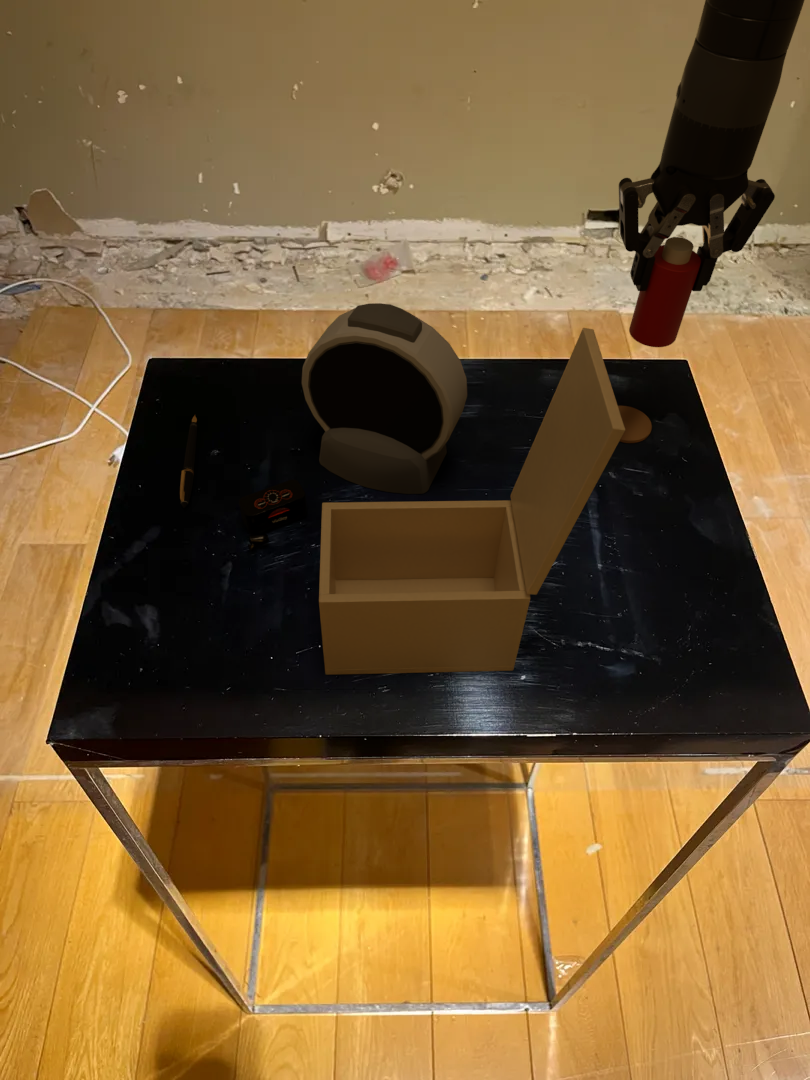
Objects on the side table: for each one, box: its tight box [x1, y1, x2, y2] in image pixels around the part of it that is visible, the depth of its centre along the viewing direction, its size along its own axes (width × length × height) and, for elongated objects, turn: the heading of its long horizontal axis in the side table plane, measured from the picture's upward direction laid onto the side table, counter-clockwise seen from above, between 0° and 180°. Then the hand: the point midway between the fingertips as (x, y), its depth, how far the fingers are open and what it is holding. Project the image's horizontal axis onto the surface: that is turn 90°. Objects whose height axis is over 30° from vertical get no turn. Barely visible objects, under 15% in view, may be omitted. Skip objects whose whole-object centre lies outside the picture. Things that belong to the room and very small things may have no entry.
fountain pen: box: [179, 414, 198, 509], centre depth 88 cm, size 14×1×2 cm, turn 5°
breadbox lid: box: [509, 327, 625, 596], centre depth 61 cm, size 18×11×1 cm
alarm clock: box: [301, 302, 468, 495], centre depth 83 cm, size 16×10×18 cm, turn 69°
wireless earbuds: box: [238, 479, 308, 552], centre depth 82 cm, size 5×7×3 cm, turn 119°
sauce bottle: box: [628, 236, 701, 348], centre depth 81 cm, size 5×5×10 cm
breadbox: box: [318, 499, 532, 676], centre depth 72 cm, size 17×11×11 cm, turn 92°
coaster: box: [618, 405, 653, 444], centre depth 94 cm, size 6×6×1 cm
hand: (667, 286), depth 81 cm, fingers closed on sauce bottle, 4 cm apart
